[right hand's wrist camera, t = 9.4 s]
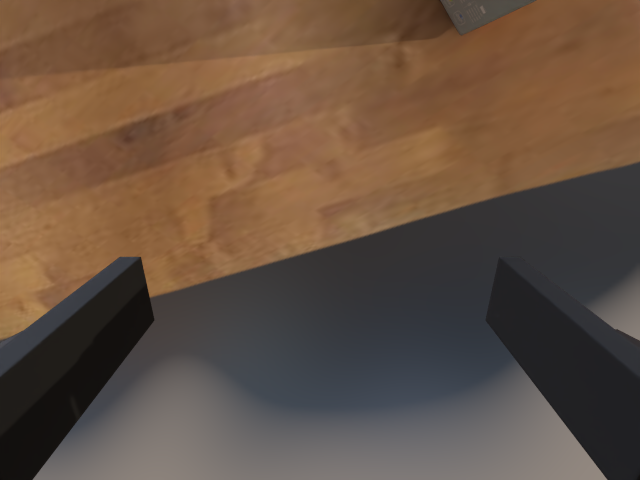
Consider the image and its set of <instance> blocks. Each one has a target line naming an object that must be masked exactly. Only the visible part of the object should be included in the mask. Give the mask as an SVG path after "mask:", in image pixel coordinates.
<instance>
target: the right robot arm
mask: <svg viewBox="0 0 640 480" xmlns="http://www.w3.org/2000/svg"><path fill="white" fill-rule="evenodd" d="M153 321H154V316H153V311H152V307H151V302H150V297H149V293H148V288H147V283H146V279H145V274H144V270H143V265H142V260H141V257H119V258H118V259H117V260H115V261H114V262H113V263H111V264H110V265H109V266H107V267H106V268H105V269H103V270H102V271H101V272H100V273H98V274H97V275H96V276H94V277H93V278H92V279H90V280H89V281H88V282H86V283H85V284H84V285H83V286H81V287H80V288H79V289H77V290H76V291H75V292H73V293H72V294H71V295H70V296H68V297H67V298H66V299H64V300H63V301H62V302H60V303H59V304H58V305H56V306H55V307H54V308H53V309H51V310H50V311H49V312H47V313H46V314H45V315H43V316H42V317H41V318H39V319H38V320H37V321H36V322H34V323H33V324H32V325H30V326H29V327H28V328H26V329H25V330H24V331H21V332H20V333H18V334H16V335H14V336H12V337H10V338H8V339H6V340H4V341H2V342H0V480H33V478H34V477H35V476H36V474H37V473H38V472H39V470H40V469H41V468H42V467H43V465H44V464H45V463H46V461H47V460H48V459H49V457H50V456H51V455H52V453H53V452H54V451H55V450H56V448H57V447H58V446H59V444H60V443H61V442H62V440H63V439H64V438H65V436H66V435H67V434H68V433H69V431H70V430H71V429H72V427H73V426H74V425H75V423H76V422H77V421H78V419H79V418H80V417H81V416H82V414H83V413H84V412H85V410H86V409H87V408H88V406H89V405H90V404H91V402H92V401H93V400H94V399H95V397H96V396H97V395H98V393H99V392H100V391H101V389H102V388H103V387H104V386H105V384H106V383H107V382H108V380H109V379H110V378H111V376H112V375H113V374H114V372H115V371H116V370H117V368H118V367H119V366H120V365H121V363H122V362H123V361H124V359H125V358H126V357H127V355H128V354H129V353H130V351H131V350H132V349H133V348H134V346H135V345H136V344H137V342H138V341H139V340H140V338H141V337H142V336H143V334H144V333H145V332H146V331H147V329H148V328H149V327H150V325H151V324H152V323H153ZM486 321H487V323H488V324H489V325H490V327H491V328H492V329H493V331H494V332H495V333H496V335H497V336H498V337H499V338H500V340H501V341H502V342H503V344H504V345H505V346H506V348H507V349H508V350H509V351H510V353H511V354H512V355H513V357H514V358H515V359H516V361H517V362H518V363H519V365H520V366H521V367H522V368H523V370H524V371H525V372H526V374H527V375H528V376H529V378H530V379H531V380H532V382H533V383H534V384H535V386H536V387H537V388H538V389H539V391H540V392H541V393H542V395H543V396H544V397H545V399H546V400H547V401H548V402H549V404H550V405H551V406H552V408H553V409H554V410H555V412H556V413H557V414H558V416H559V417H560V418H561V419H562V421H563V422H564V423H565V425H566V426H567V427H568V429H569V430H570V431H571V433H572V434H573V435H574V436H575V438H576V439H577V440H578V442H579V443H580V444H581V446H582V447H583V448H584V450H585V451H586V452H587V453H588V455H589V456H590V457H591V459H592V460H593V461H594V463H595V464H596V465H597V467H598V468H599V469H600V470H601V472H602V473H603V474H604V476H605V477H606V478H607V480H640V341H639V340H637V339H635V338H633V337H631V336H629V335H627V334H625V333H623V332H621V331H619V330H615V329H613V328H612V327H611V326H610V325H608V324H607V323H606V322H604V321H603V320H602V319H600V318H599V317H598V316H597V315H595V314H594V313H593V312H591V311H590V310H589V309H587V308H586V307H585V306H584V305H582V304H581V303H580V302H578V301H577V300H576V299H574V298H573V297H572V296H570V295H569V294H568V293H567V292H565V291H564V290H563V289H561V288H560V287H559V286H557V285H556V284H555V283H554V282H552V281H551V280H550V279H548V278H547V277H546V276H544V275H543V274H542V273H540V272H539V271H538V270H537V269H535V268H534V267H533V266H531V265H530V264H529V263H527V262H526V261H525V260H523V259H522V258H521V257H499V260H498V265H497V270H496V274H495V279H494V284H493V288H492V293H491V297H490V302H489V307H488V311H487V316H486Z"/></svg>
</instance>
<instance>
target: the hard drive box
mask: <svg viewBox="0 0 640 480" xmlns="http://www.w3.org/2000/svg"><path fill="white" fill-rule="evenodd" d="M440 1H441V2H442V4H443V6H444V8H445V10H446V11H447V13H448V15H449V17H450V18H451V20H452V22H453V24H454V25H455V27H456V29H457V31H458V32H459V34H460V35H463V34H466V33H468V32H470V31H472V30H475V29H477V28H479V27H481V26H483V25H485V24H487V23H490V22H492V21H494V20H496V19H498V18H500V17H502V16H504V15H506V14H509V13H511V12H513V11H515V10H517V9H519V8H521V7H523V6H525V5H528V4H530V3H532V2H534V1H536V0H440Z"/></svg>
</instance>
